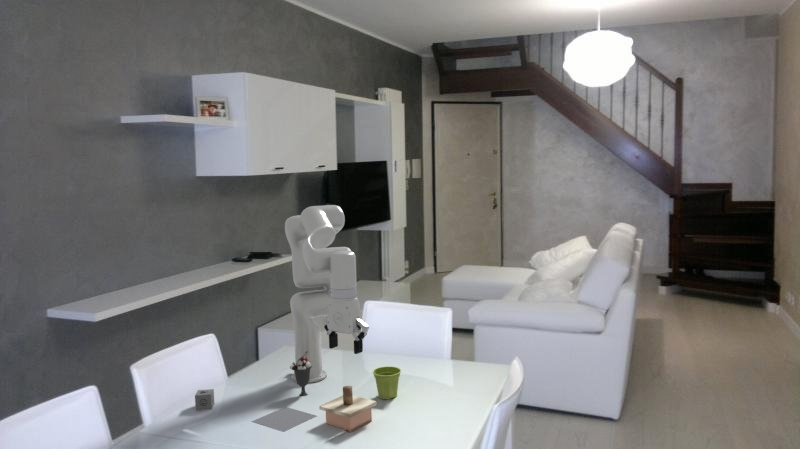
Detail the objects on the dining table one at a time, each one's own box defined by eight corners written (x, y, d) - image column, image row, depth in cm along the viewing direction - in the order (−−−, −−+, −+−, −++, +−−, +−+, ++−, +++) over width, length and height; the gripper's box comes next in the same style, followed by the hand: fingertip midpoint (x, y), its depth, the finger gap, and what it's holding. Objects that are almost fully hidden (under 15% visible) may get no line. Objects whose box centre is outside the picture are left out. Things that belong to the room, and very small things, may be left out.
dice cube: (198, 404, 214) (198, 390, 213) (214, 403, 214) (213, 389, 214) (195, 410, 209) (194, 395, 208) (211, 409, 209) (210, 394, 209)
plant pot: (398, 402, 211) (398, 375, 210) (370, 400, 213) (369, 374, 212) (404, 391, 220) (403, 366, 219) (377, 390, 222) (376, 365, 221)
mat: (251, 423, 197) (251, 421, 197) (285, 408, 208) (285, 406, 208) (283, 433, 188) (283, 431, 188) (317, 417, 200) (317, 415, 200)
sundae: (317, 393, 221) (315, 350, 219) (307, 400, 214) (305, 356, 213) (299, 392, 223) (297, 349, 221) (289, 398, 216) (287, 354, 215)
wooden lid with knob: (319, 409, 193) (318, 389, 192) (346, 396, 203) (345, 378, 202) (350, 417, 186) (349, 397, 185) (376, 404, 195) (375, 385, 195)
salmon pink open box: (326, 425, 194) (325, 408, 193) (347, 414, 201) (347, 398, 201) (350, 432, 188) (350, 415, 188) (371, 421, 196) (371, 405, 195)
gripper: (313, 292, 193) (315, 348, 195) (358, 299, 183) (360, 358, 185) (330, 287, 199) (332, 342, 201) (375, 294, 189) (376, 351, 191)
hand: (345, 350), depth 193 cm, fingers open, 9 cm apart
